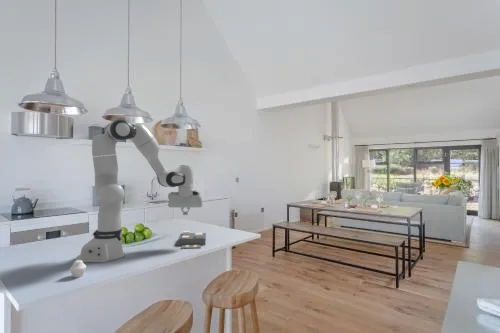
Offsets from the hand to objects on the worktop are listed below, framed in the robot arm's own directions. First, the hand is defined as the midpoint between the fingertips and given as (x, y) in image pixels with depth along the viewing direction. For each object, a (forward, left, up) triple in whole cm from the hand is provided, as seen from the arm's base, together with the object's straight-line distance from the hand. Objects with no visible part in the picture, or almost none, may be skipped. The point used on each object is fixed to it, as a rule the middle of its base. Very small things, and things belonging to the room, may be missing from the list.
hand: (185, 214), depth 176 cm
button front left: (0, 0, -16) cm, 16 cm away
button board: (+4, +4, -18) cm, 19 cm away
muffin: (-41, -46, -18) cm, 64 cm away
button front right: (+8, 0, -15) cm, 17 cm away
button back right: (+8, +7, -16) cm, 19 cm away
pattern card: (+4, -7, -18) cm, 20 cm away
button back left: (0, +7, -15) cm, 16 cm away
